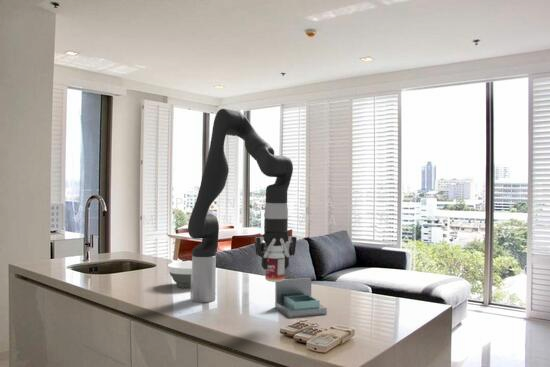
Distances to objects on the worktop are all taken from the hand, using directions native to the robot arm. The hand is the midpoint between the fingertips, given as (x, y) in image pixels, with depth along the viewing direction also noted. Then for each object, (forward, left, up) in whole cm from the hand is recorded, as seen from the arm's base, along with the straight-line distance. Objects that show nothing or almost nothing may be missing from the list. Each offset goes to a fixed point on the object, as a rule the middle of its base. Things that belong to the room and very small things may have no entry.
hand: (275, 268), depth 142 cm
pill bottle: (0, 0, -4) cm, 4 cm away
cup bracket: (+14, +12, -18) cm, 26 cm away
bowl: (-17, +66, -18) cm, 70 cm away
